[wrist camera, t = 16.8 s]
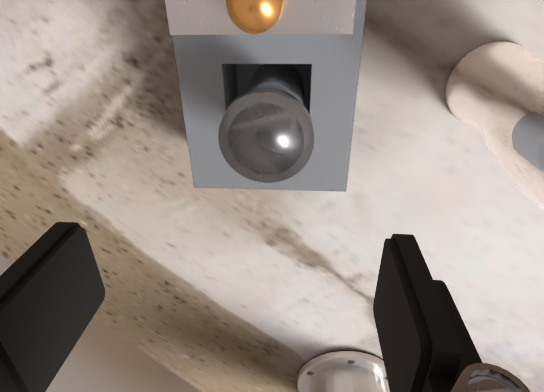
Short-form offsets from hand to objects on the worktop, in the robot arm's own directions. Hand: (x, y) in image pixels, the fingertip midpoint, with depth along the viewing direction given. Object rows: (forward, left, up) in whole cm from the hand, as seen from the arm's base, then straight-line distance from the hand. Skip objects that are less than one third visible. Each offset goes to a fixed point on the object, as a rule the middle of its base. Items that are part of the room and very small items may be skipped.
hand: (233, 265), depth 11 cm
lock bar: (+7, 0, -14) cm, 15 cm away
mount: (0, 0, -20) cm, 20 cm away
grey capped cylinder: (0, 0, -19) cm, 19 cm away
